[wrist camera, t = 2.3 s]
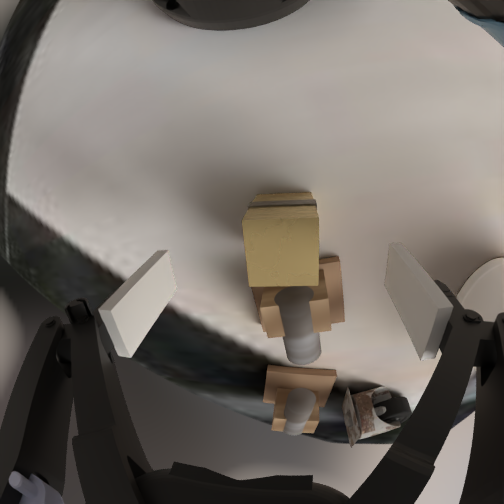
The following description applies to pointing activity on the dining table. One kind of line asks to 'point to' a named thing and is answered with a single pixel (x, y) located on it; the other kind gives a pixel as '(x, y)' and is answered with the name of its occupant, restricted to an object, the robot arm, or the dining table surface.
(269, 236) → the block
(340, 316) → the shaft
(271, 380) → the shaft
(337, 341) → the dining table surface
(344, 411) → the caster wheel
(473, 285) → the jar
